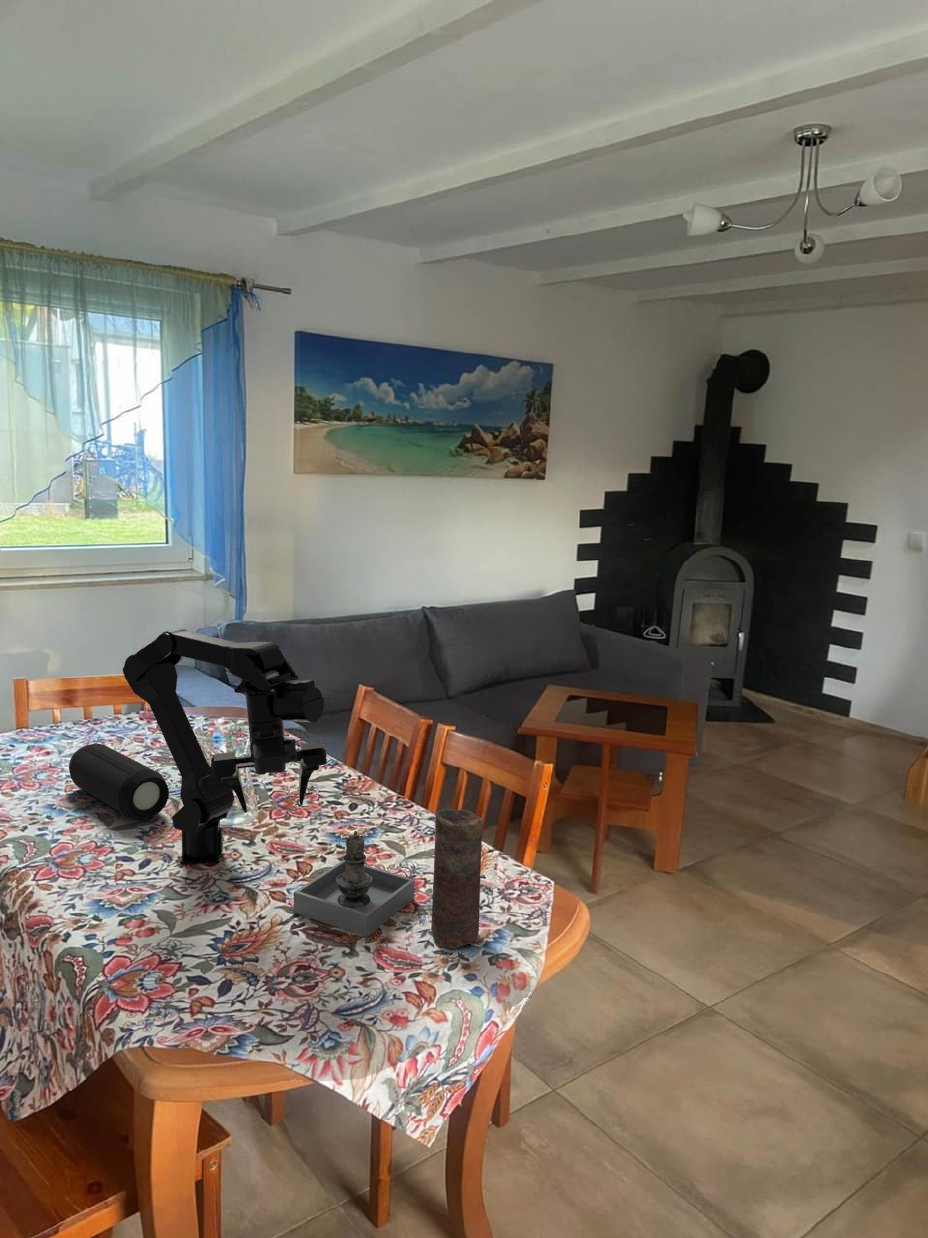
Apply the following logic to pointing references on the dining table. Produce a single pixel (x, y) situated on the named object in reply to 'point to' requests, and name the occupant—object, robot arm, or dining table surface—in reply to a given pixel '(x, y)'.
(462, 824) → the candle
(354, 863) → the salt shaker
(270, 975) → the dining table surface
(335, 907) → the tray
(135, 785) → the portable speaker
